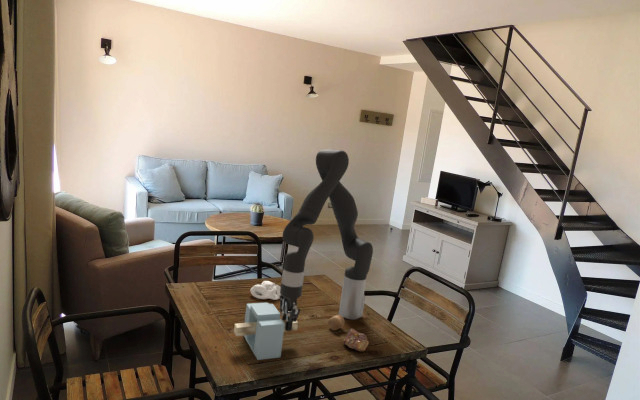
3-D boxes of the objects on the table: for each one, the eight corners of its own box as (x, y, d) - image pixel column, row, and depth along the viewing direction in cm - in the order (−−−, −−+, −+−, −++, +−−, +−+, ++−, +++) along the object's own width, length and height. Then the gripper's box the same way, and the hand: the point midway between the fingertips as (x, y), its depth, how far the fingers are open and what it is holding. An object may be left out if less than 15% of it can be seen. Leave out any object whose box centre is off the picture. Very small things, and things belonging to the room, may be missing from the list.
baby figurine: (247, 297, 195) (252, 277, 199) (271, 305, 201) (275, 286, 205) (257, 295, 188) (262, 275, 192) (281, 304, 194) (286, 284, 198)
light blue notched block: (264, 333, 164) (268, 298, 162) (280, 357, 149) (285, 319, 147) (243, 335, 160) (247, 299, 158) (257, 359, 145) (262, 321, 143)
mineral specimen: (333, 336, 165) (343, 320, 166) (345, 343, 169) (354, 327, 171) (355, 352, 156) (365, 334, 157) (367, 358, 160) (376, 341, 161)
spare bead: (332, 324, 178) (334, 312, 178) (343, 329, 176) (345, 317, 175) (327, 327, 175) (329, 315, 174) (338, 332, 172) (339, 320, 172)
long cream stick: (293, 326, 160) (294, 318, 160) (297, 330, 158) (298, 322, 157) (233, 331, 151) (234, 323, 150) (236, 336, 148) (237, 327, 147)
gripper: (310, 289, 150) (303, 336, 153) (294, 274, 162) (288, 318, 165) (289, 290, 147) (283, 338, 150) (275, 275, 159) (269, 320, 162)
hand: (286, 328), depth 157 cm, fingers closed on long cream stick, 3 cm apart
